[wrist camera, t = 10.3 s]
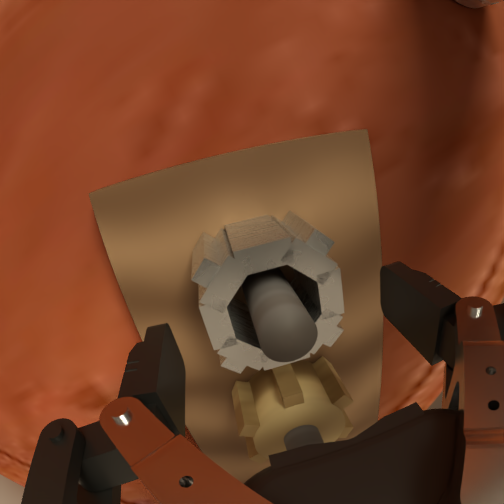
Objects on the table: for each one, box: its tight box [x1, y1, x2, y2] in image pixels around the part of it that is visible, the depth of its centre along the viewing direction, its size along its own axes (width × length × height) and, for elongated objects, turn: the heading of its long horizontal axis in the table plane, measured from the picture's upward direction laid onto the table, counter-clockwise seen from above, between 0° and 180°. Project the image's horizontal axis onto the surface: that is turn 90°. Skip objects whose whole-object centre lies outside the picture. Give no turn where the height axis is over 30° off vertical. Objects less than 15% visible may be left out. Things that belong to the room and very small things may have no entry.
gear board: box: [89, 129, 383, 484], centre depth 16 cm, size 26×14×8 cm, turn 13°
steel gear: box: [191, 210, 344, 374], centre depth 14 cm, size 6×6×4 cm
